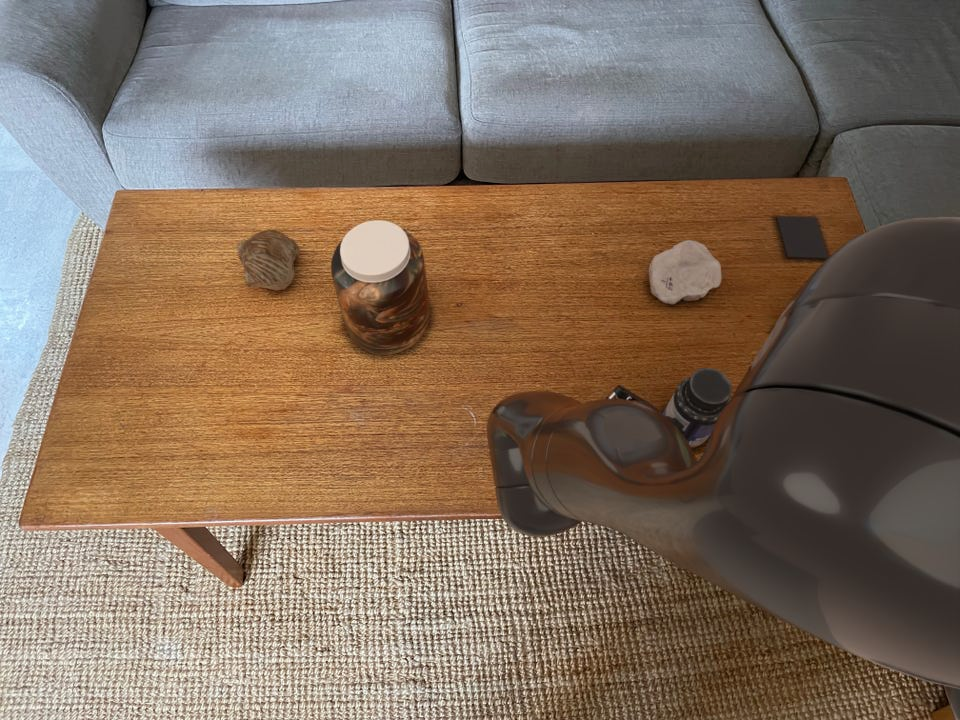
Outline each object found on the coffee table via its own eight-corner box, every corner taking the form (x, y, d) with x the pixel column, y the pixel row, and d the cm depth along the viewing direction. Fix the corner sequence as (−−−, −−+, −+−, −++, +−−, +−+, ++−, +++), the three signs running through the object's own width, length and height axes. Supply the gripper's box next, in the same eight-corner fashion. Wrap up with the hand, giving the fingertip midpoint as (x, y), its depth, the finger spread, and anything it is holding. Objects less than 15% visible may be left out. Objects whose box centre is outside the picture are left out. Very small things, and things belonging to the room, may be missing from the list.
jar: (334, 300, 91) (312, 226, 78) (413, 274, 93) (404, 198, 80) (360, 367, 85) (341, 299, 72) (443, 338, 88) (439, 268, 75)
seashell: (240, 296, 92) (294, 300, 91) (219, 266, 85) (277, 270, 84) (258, 244, 96) (310, 247, 95) (240, 212, 90) (295, 215, 89)
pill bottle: (710, 412, 82) (741, 369, 73) (705, 455, 79) (737, 416, 70) (661, 400, 83) (686, 356, 74) (655, 443, 80) (680, 402, 71)
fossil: (735, 283, 89) (686, 287, 84) (703, 311, 94) (656, 316, 89) (702, 235, 93) (654, 236, 88) (674, 264, 98) (627, 267, 92)
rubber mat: (827, 259, 96) (828, 257, 95) (786, 258, 96) (788, 256, 95) (814, 219, 100) (816, 217, 100) (776, 217, 100) (777, 216, 100)
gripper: (698, 469, 58) (740, 449, 72) (600, 364, 63) (657, 365, 78) (641, 521, 61) (692, 491, 75) (551, 417, 66) (615, 408, 80)
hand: (674, 427), depth 76 cm, fingers closed
